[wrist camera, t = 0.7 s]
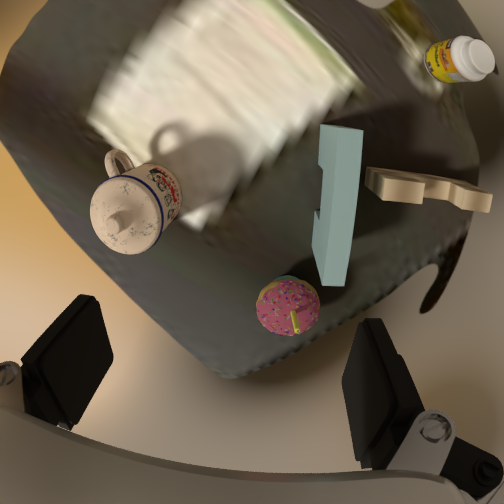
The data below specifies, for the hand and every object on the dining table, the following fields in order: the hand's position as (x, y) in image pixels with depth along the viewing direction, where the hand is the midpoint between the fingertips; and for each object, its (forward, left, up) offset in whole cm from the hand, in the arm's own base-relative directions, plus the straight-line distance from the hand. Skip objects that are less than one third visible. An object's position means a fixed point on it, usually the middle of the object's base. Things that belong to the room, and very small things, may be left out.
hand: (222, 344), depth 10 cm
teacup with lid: (+1, -14, -30) cm, 33 cm away
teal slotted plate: (+1, +9, -30) cm, 31 cm away
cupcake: (+16, +5, -30) cm, 34 cm away
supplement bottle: (-18, +24, -30) cm, 42 cm away
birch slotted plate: (-1, +22, -30) cm, 36 cm away
